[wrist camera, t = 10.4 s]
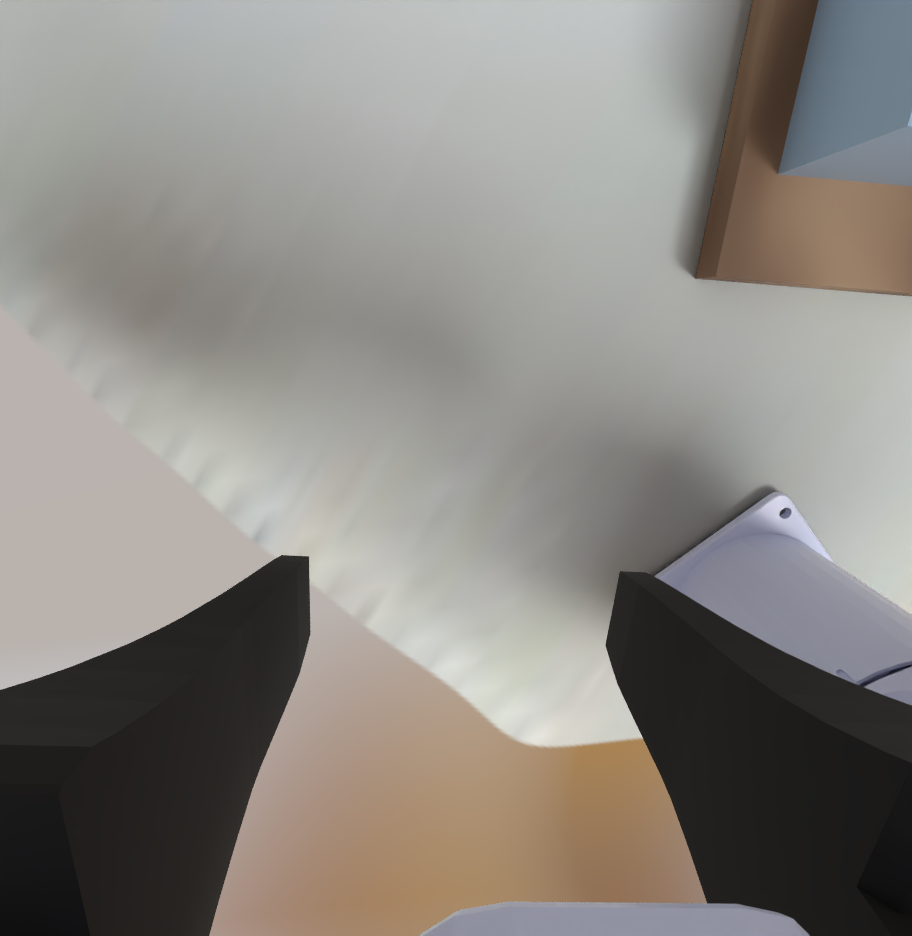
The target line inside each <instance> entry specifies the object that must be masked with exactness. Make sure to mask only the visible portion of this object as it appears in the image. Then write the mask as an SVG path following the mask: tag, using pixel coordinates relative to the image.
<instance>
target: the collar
mask: <svg viewBox="0 0 912 936" xmlns="http://www.w3.org/2000/svg"><path fill="white" fill-rule="evenodd" d="M778 175H789V176H800V177H812V178H823V179H834V180H846V181H857V182H869V183H880V184H891V185H903V186H912V0H819V1H818V5H817V9H816V14H815V18H814V22H813V27H812V31H811V35H810V39H809V44H808V48H807V52H806V56H805V61H804V65H803V69H802V74H801V78H800V82H799V86H798V91H797V95H796V99H795V103H794V108H793V112H792V116H791V120H790V125H789V129H788V133H787V138H786V142H785V146H784V150H783V155H782V159H781V163H780V167H779V172H778Z"/></svg>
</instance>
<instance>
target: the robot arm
mask: <svg viewBox="0 0 912 936" xmlns="http://www.w3.org/2000/svg"><path fill="white" fill-rule="evenodd" d="M784 508H786V510H785V512H784V513H783V514H781V515H779V514H780V511H781V510H782V509H784ZM309 596H310V593H309V557H307V556H286V555H281V556H279V557H278V558H276V559H274V560H273V561H271V562H270V563H268V564H267V565H265V566H263V567H262V568H261V569H259V570H258V571H256V572H255V573H253V574H252V575H250V576H249V577H247V578H246V579H244V580H243V581H241V582H239V583H238V584H236V585H235V586H233V587H232V588H230V589H229V590H227V591H226V592H224V593H223V594H221V595H219V596H218V597H216V598H214V599H213V600H211V601H209V602H207V603H206V604H204V605H202V606H201V607H199V608H197V609H196V610H194V611H192V612H190V613H189V614H187V615H185V616H184V617H182V618H180V619H178V620H176V621H174V622H173V623H171V624H169V625H167V626H165V627H163V628H161V629H159V630H157V631H155V632H153V633H150V634H149V635H146V636H144V637H142V638H140V639H138V640H136V641H134V642H131V643H129V644H127V645H125V646H122V647H120V648H117V649H115V650H112V651H110V652H107V653H105V654H102V655H100V656H97V657H95V658H92V659H90V660H87V661H85V662H83V663H80V664H77V665H75V666H72V667H69V668H67V669H64V670H61V671H58V672H55V673H52V674H49V675H46V676H43V677H41V678H38V679H35V680H31V681H28V682H25V683H22V684H18V685H15V686H12V687H9V688H6V689H3V690H0V936H209V934H210V930H211V927H212V923H213V919H214V915H215V912H216V908H217V905H218V901H219V898H220V894H221V891H222V887H223V884H224V880H225V877H226V874H227V871H228V867H229V864H230V860H231V857H232V854H233V850H234V847H235V843H236V840H237V836H238V833H239V830H240V827H241V824H242V820H243V817H244V814H245V811H246V808H247V804H248V801H249V798H250V795H251V791H252V788H253V786H254V783H255V780H256V778H257V775H258V772H259V769H260V767H261V764H262V762H263V760H264V757H265V755H266V753H267V750H268V748H269V745H270V743H271V741H272V738H273V736H274V734H275V731H276V729H277V726H278V724H279V722H280V719H281V717H282V715H283V712H284V710H285V707H286V705H287V703H288V700H289V698H290V695H291V693H292V690H293V688H294V686H295V683H296V681H297V678H298V676H299V673H300V670H301V666H302V662H303V659H304V655H305V652H306V648H307V644H308V640H309V636H310V597H309ZM606 648H607V652H608V655H609V658H610V662H611V665H612V668H613V671H614V674H615V677H616V680H617V683H618V686H619V688H620V690H621V692H622V695H623V697H624V699H625V701H626V703H627V705H628V708H629V710H630V712H631V714H632V716H633V718H634V720H635V722H636V724H637V727H638V729H639V731H640V733H641V735H642V737H643V739H644V741H645V743H646V745H647V747H648V749H649V752H650V754H651V756H652V758H653V760H654V762H655V764H656V766H657V768H658V770H659V772H660V774H661V777H662V779H663V781H664V784H665V786H666V788H667V791H668V793H669V795H670V797H671V800H672V803H673V806H674V809H675V811H676V814H677V817H678V820H679V822H680V825H681V828H682V831H683V833H684V836H685V839H686V842H687V845H688V847H689V850H690V853H691V856H692V859H693V862H694V865H695V868H696V871H697V874H698V877H699V880H700V883H701V886H702V889H703V892H704V895H705V898H706V901H707V904H703V903H585V902H579V903H577V902H505V903H498V904H492V905H487V906H481V907H475V908H469V909H463V910H458V911H457V912H455V913H453V914H452V915H450V916H449V917H447V918H445V919H444V920H442V921H441V922H439V923H438V924H436V925H434V926H433V927H431V928H429V929H428V930H426V931H425V932H423V933H422V934H420V935H419V936H912V615H911V614H910V613H908V612H907V611H905V610H904V609H902V608H901V607H899V606H898V605H896V604H895V603H893V602H892V601H890V600H889V599H887V598H886V597H884V596H883V595H881V594H880V593H878V592H877V591H875V590H874V589H872V588H871V587H869V586H868V585H866V584H864V583H863V582H861V581H860V580H858V579H857V578H855V577H854V576H852V575H851V574H849V573H848V572H846V571H845V570H843V569H842V568H840V567H839V566H837V565H836V564H835V563H834V561H833V560H832V558H831V557H830V556H829V554H828V553H827V551H826V550H825V548H824V547H823V545H822V544H821V543H820V541H819V540H818V538H817V537H816V535H815V534H814V533H813V531H812V530H811V528H810V527H809V525H808V524H807V522H806V521H805V520H804V518H803V517H802V515H801V514H800V512H799V511H798V510H797V508H796V507H795V505H794V504H793V502H792V501H791V499H790V498H789V497H788V496H787V495H785V494H783V493H781V492H773V493H771V494H769V495H768V496H766V497H765V498H763V499H762V500H761V501H759V502H758V503H756V504H755V505H754V506H752V507H751V508H749V509H748V510H747V511H745V512H744V513H742V514H741V515H740V516H738V517H737V518H735V519H734V520H733V521H731V522H730V523H728V524H727V525H726V526H724V527H723V528H721V529H720V530H719V531H717V532H716V533H714V534H713V535H712V536H710V537H709V538H707V539H706V540H704V541H703V542H702V543H700V544H699V545H697V546H696V547H695V548H693V549H692V550H690V551H689V552H688V553H686V554H685V555H683V556H682V557H681V558H679V559H678V560H676V561H675V562H674V563H672V564H671V565H669V566H668V567H667V568H665V569H664V570H662V571H661V572H660V573H658V574H657V575H655V576H652V575H650V574H648V573H644V572H623V571H620V574H619V579H618V584H617V590H616V595H615V600H614V605H613V610H612V615H611V620H610V625H609V630H608V635H607V640H606Z"/></svg>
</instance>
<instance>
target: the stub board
mask: <svg viewBox="0 0 912 936" xmlns="http://www.w3.org/2000/svg"><path fill="white" fill-rule="evenodd" d="M818 1H819V0H753V1H752V6H751V11H750V16H749V21H748V25H747V30H746V35H745V40H744V45H743V50H742V55H741V59H740V64H739V69H738V74H737V79H736V84H735V89H734V93H733V98H732V103H731V108H730V113H729V118H728V123H727V127H726V132H725V137H724V142H723V147H722V152H721V157H720V161H719V166H718V171H717V176H716V181H715V186H714V191H713V195H712V200H711V205H710V210H709V215H708V220H707V225H706V230H705V234H704V239H703V244H702V249H701V254H700V259H699V264H698V268H697V273H696V279H708V280H720V281H732V282H744V283H756V284H769V285H781V286H793V287H805V288H817V289H830V290H842V291H854V292H866V293H878V294H890V295H903V296H912V186H903V185H891V184H880V183H869V182H857V181H846V180H834V179H823V178H812V177H800V176H789V175H778V172H779V167H780V163H781V159H782V155H783V150H784V146H785V142H786V138H787V133H788V129H789V125H790V120H791V116H792V112H793V108H794V103H795V99H796V95H797V91H798V86H799V82H800V78H801V74H802V69H803V65H804V61H805V56H806V52H807V48H808V44H809V39H810V35H811V31H812V27H813V22H814V18H815V14H816V9H817V5H818Z"/></svg>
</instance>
